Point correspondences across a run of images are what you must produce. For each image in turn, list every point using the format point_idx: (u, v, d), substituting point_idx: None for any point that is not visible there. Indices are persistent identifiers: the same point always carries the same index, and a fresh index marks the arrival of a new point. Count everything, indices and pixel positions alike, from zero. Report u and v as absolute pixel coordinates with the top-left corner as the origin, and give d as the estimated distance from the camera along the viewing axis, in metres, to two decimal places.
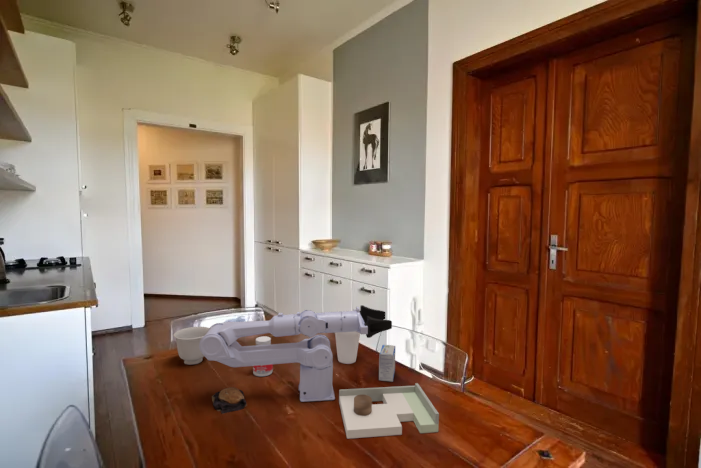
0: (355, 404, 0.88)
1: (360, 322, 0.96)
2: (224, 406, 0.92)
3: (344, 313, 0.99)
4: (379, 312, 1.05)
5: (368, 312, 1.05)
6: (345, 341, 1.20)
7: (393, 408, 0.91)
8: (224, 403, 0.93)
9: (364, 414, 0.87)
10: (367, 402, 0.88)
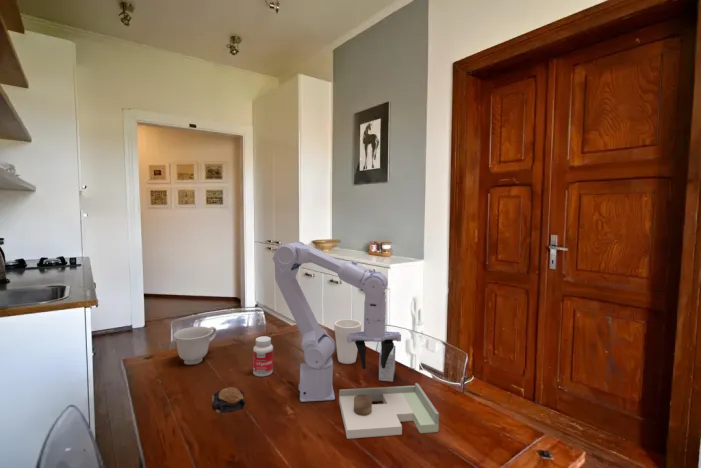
0: (355, 404, 0.88)
1: (357, 337, 0.94)
2: (223, 406, 0.92)
3: (373, 324, 0.93)
4: (383, 361, 0.96)
5: (384, 350, 0.96)
6: (345, 341, 1.20)
7: (393, 408, 0.91)
8: (223, 403, 0.93)
9: (364, 414, 0.87)
10: (367, 402, 0.88)
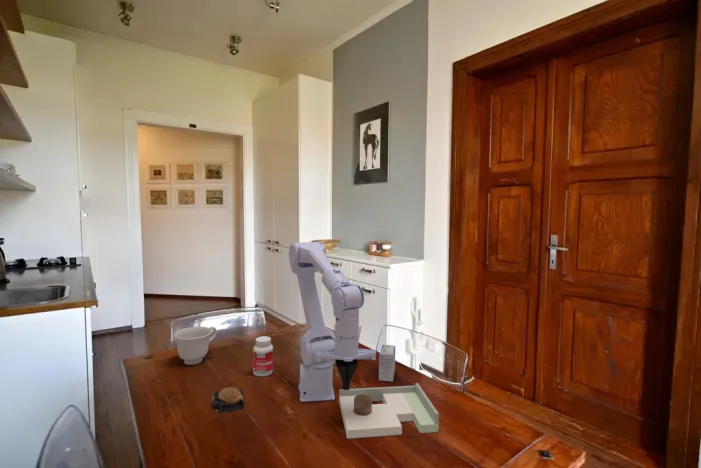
0: (355, 404, 0.88)
1: (327, 356, 0.86)
2: (222, 406, 0.92)
3: (344, 342, 0.85)
4: (346, 383, 0.87)
5: (347, 370, 0.87)
6: None
7: (393, 408, 0.91)
8: (222, 403, 0.93)
9: (364, 414, 0.87)
10: (367, 402, 0.88)
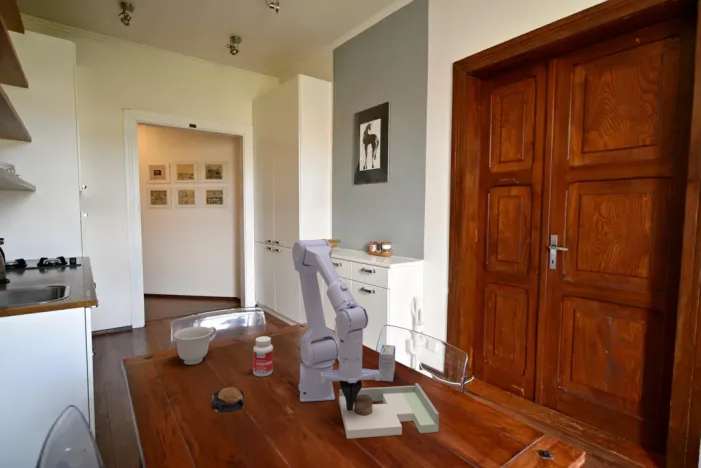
0: (356, 404, 0.88)
1: (331, 377, 0.86)
2: (221, 406, 0.92)
3: (348, 363, 0.85)
4: (350, 403, 0.88)
5: None
6: None
7: (393, 408, 0.91)
8: (222, 403, 0.93)
9: (365, 414, 0.87)
10: (368, 402, 0.88)
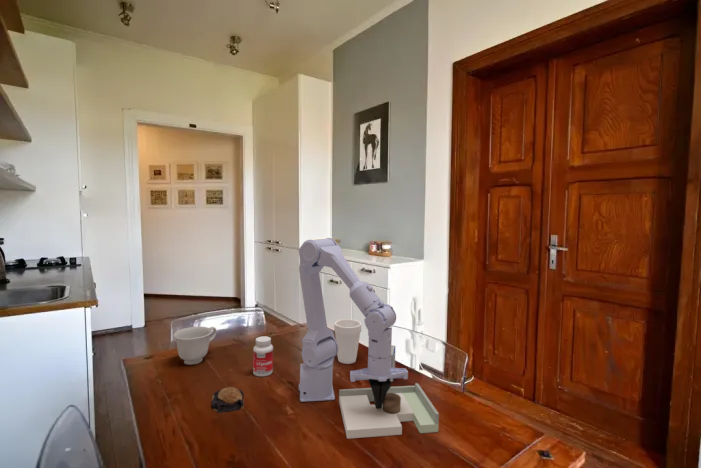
0: (384, 402, 0.89)
1: (360, 376, 0.87)
2: (220, 406, 0.92)
3: (378, 362, 0.87)
4: (379, 401, 0.89)
5: (380, 389, 0.89)
6: (345, 341, 1.20)
7: None
8: (221, 402, 0.93)
9: (393, 412, 0.89)
10: (396, 400, 0.89)
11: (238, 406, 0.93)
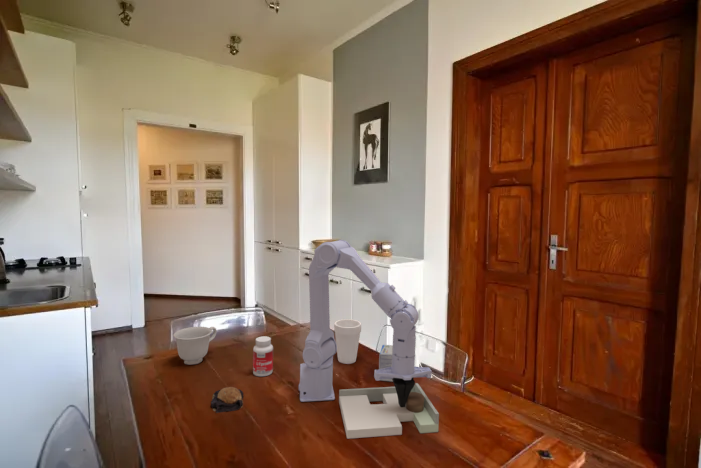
0: (408, 401, 0.90)
1: (385, 374, 0.88)
2: (219, 405, 0.92)
3: (403, 361, 0.88)
4: None
5: None
6: (345, 341, 1.20)
7: (393, 408, 0.91)
8: (220, 402, 0.93)
9: (417, 411, 0.89)
10: (420, 399, 0.90)
11: (237, 406, 0.93)
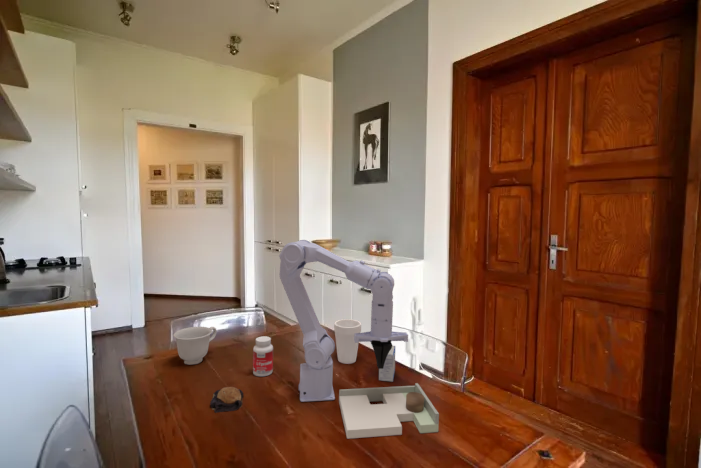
0: (408, 401, 0.90)
1: (364, 337, 0.94)
2: (218, 405, 0.92)
3: (380, 324, 0.93)
4: (381, 362, 0.96)
5: (382, 350, 0.96)
6: (345, 341, 1.20)
7: (393, 408, 0.91)
8: (219, 402, 0.93)
9: (417, 411, 0.89)
10: (420, 399, 0.90)
11: (236, 406, 0.93)
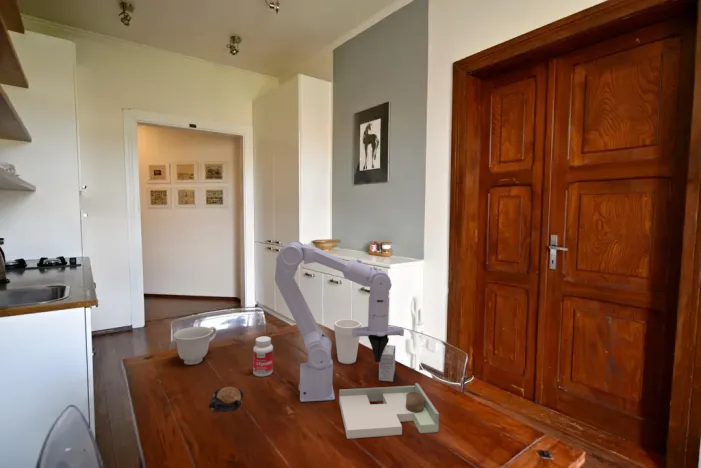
0: (408, 401, 0.90)
1: (361, 332, 0.98)
2: (217, 405, 0.92)
3: (377, 319, 0.97)
4: (378, 355, 1.00)
5: (379, 344, 1.00)
6: (345, 341, 1.20)
7: (393, 408, 0.91)
8: (218, 402, 0.93)
9: (417, 411, 0.89)
10: (420, 399, 0.90)
11: (235, 407, 0.93)
